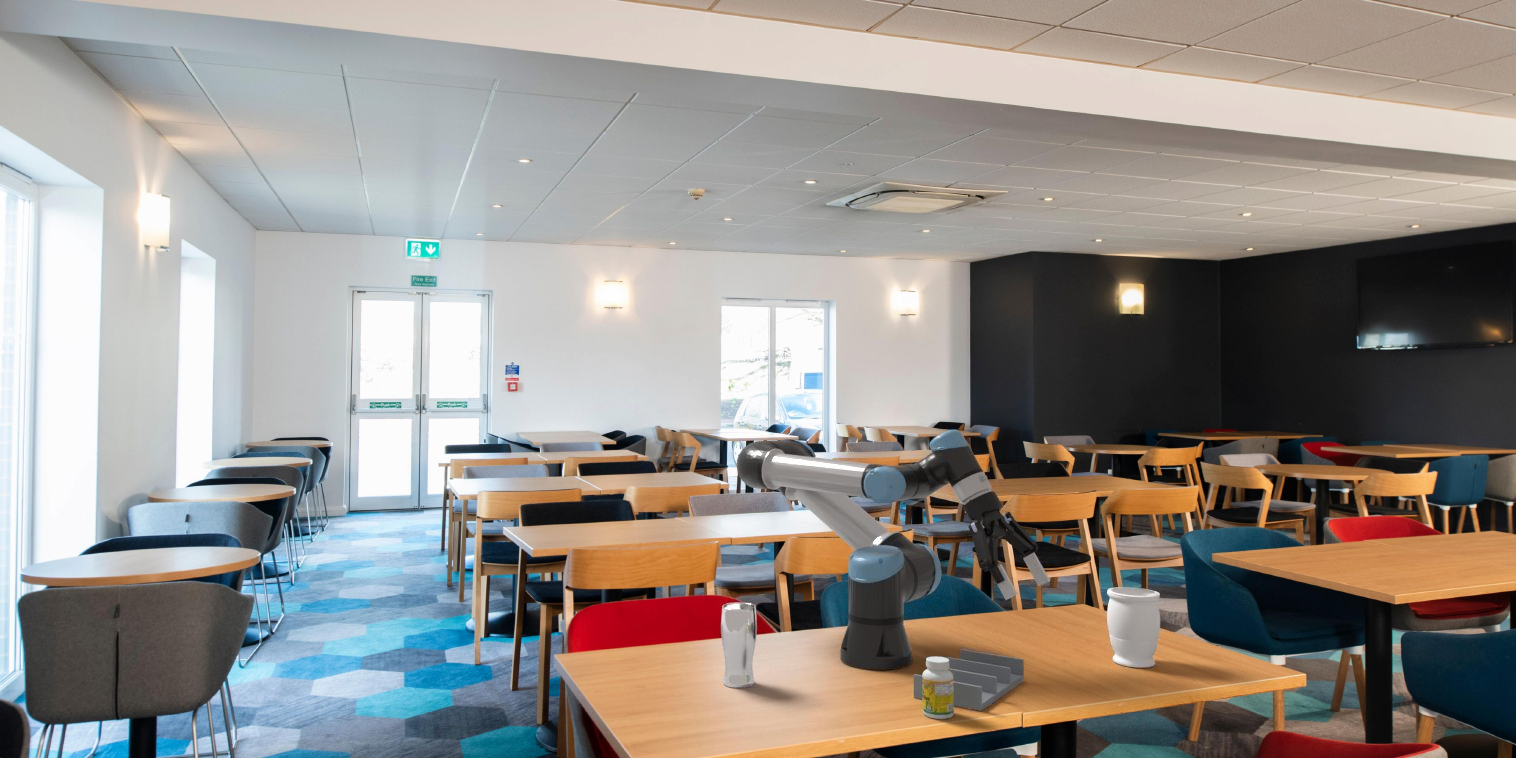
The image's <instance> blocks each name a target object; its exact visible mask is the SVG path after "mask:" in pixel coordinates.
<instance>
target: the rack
mask: <svg viewBox="0 0 1516 758" xmlns="http://www.w3.org/2000/svg"><path fill="white" fill-rule="evenodd" d="M959 655H960V658H955V657H950V656H946V657H945V658H947V659H949V666H950V667H949V669H948V670H949V671H950V672H951V673H952V674H953V681H954V682H953V683H954V707H957V708H962V707H963V709H967V708H970V709H969V710H971V709H975V710H974V711H976V710H980V711H979V712H982V711H984V710H985V709H987V708H988V707H989V706H991V705H992V704H994V703H995V702H996V701H997V700H999V699H1001V698H1002V697H1003V696H1005V695H1006V694H1007V693H1009V692H1010V691H1012V690H1013V689H1015V688H1017V686H1019V685H1020V684H1021V683H1023V682H1025V664H1024V663H1025V659H1024V658H1019V657H1011V656H1007V655H1000V654H994V653H987V652H982V651H977V650H969V649H963V648H960V650H959ZM922 675H923V674H916V673H914V674H913V698H914V699H918V700H922V701H923V691H922V690H923V688H922ZM1000 697H1001V698H1000ZM990 704H991V705H990ZM984 708H985V709H984ZM983 709H984V710H983ZM981 710H982V711H981Z"/></svg>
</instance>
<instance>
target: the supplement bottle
mask: <svg viewBox="0 0 1516 758" xmlns="http://www.w3.org/2000/svg"><path fill="white" fill-rule="evenodd" d="M925 666H926V668H927V669H925V670H924V671H923V672H922V674H921V675H922V688H923V690H922V691H923V700H922V713H923V715H924V716H925V717H927V718H929V719H934V720H946V719H947V718H948V719H950V718H952V717H953V716H954V713H955V706H954V683H953V682H954V681H953V674H952V673H951V672H950V671H949V670H948V669H949V667H950V666H949V659H947V658H946V657H944V656H928V657H926V660H925ZM948 719H947V720H948Z"/></svg>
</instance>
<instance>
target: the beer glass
mask: <svg viewBox="0 0 1516 758" xmlns="http://www.w3.org/2000/svg"><path fill="white" fill-rule="evenodd" d="M721 607H722V608H721V620H720V621H721V622H720V634H721V643H722V651H723V654H724V660H725V661H724V663H725V671H724V675H723V681H722V682H723V685H724V686H725V687H728V688H732V689H733V688H734V689H745V688H750V687H752V686H755V677H754V672H753V671H754V670H753V659H754V654H755V648H756V643H757V642H756V641H757V635H758V634H757V632H758V631H757V630H758V625H757V624H758V623H757V622H758V621H757V620H758V619H757V609H756V607H757V606H756V604H753V603H751V602H742V601H741V602H738V601H737V602H736V601H735V602H727V603H725V604H723V605H722V606H721Z"/></svg>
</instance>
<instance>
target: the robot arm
mask: <svg viewBox="0 0 1516 758" xmlns="http://www.w3.org/2000/svg"><path fill="white" fill-rule="evenodd" d="M929 447H930V451H931V452H930V453H929V454H928V455H926V456H925V457H924V458H922V459H920V460H919V461H917V462H915V463H911V464H900V465H886V464H877V463H868V462H867V463H866V462H858V461H849V460H842V459H831V458H823V457H817V455H816V454H815V451H814V450H813V449H812V447H811V446H810V445H808V443H806V442H804V441H801V440H797V439H791V438H784V439H780V440H758V441H754V442H751V443H749V444H747V445H746V446H744V447H743V448H742V449H741V451H740V453H739V454H738V456H737V460H736V470H737V474H738V476H739V479H740V480H741V481H742V482H743V483H744V484H745V485H746V486H748V487H750V488H753V489H755V490H756V489H757V490H766V489H767V490H772V491H773V490H776V491H779V492H780V494H781V495H783V496H784V497H785V498H786V499H787V500H789V501H799V502H800V503H801V504H802V505H803V506H804V507H805V508H807V510H809V511H810V512H811V513H812V514H813V515H814V516H815V517H817V519H819V520H820V521H821V522H822V523H824V524H825V525H826V526H827V528H829V529H830V530H831V531H832V532H833V533H835V534H836V535H837V536H838V537H839V538H840V539H841V540H842V541H844V542H845V543H846V544H847V545H848V546H849V547H850V548H851V549H852V550H853V552H851V554H850V555H849V558H848V567H847V574H848V576H847V577H848V580H847V582H848V584H847V585H848V586H847V587H848V593H847V594H848V624H847V627H846V630H845V633H844V636H843V639H842V642H841V646H840V652H839V653H840V657H839V658H840V661H841V662H842V663H844V664H845V665H847V666H851V667H855V668H859V669H866V670H882V671H883V670H896V669H901V668H906V667H908V666H910V665H911V664H912V662H913V650H912V646H911V643H910V639H909V637H908V634H907V632H906V628H905V624H904V619H905V618H904V611H905V610H904V607H905V605H904V604H906V603H909V602H912V601H915V600H921V599H923V598H926V597H928V596H929V595H930V594H932V593H933V592H935V590H936V589H937V588H938V586H939V584H940V583H941V578H942V568H941V567H942V565H941V561H940V558H939V557H938V555H937V553H936V552H935V551H934V550H933V549H932V548H931V547H930V546H928V545H925V544H922V543H914V542H912V541H911V540H910V539H908V538H907V536H905V535H904V534H903V533H902V532H900V531H891V532H890V530H888V529H887V528H886V527H885V526H883V524H882V523H880V522H878V521H877V520H876V519H875V518H874V517H873V516H872V515H870V514H869V513H868V512H867V511H866V510H864V508H863V507H861V506H860V505H859V504H858V503H857V502H856V501H854V500H853V499H852V498H851V497H858V498H865V499H870V500H871V501H873V502H875V503H876V504H877V503H879V504H893V503H895V502H900V501H901V502H902V503H903V504H905V505H908V506H913V505H915V504H917V503H919V502H923V501H924V500H926V498H928V497H930V496H931V495H932V494H934V493H935V492H937V491H938V490H940V489H942V488H943V487H944V486H947V485H948V484H950V486H951V488H952V490H953V492H954V494H955V496H956V498H957V500H958V502H959V504H961V505H963V507H962V508H963V509H962V510H963V511H964V513H965V514H966V516H967V518H968V520H969V521H970V522H972V523H970V524H969V525H968V529H969V531H970V533H971V536H972V540H973V545H974V549H975V553H976V558H977V563H978V566H979V568H980V569H981V570H982V571H983V572H988V571H989V572H990V574H991V577H992V578H993V580H994V582H995V584H996V585H997V586H998V589H999V591H1000V592H1001V594H1002V595H1003V597H1004V600H1005V601H1007V600H1009V599H1011V598H1013V597H1015V596H1017V595H1018V592H1017V589H1016V588H1015V586H1014V584H1013V582H1012V581H1011V579H1010V577H1009V576H1008V574H1007V572H1006V569H1005V568H1004V566H1003V563H999V557H998V554H999V553H998V539H1000V540H1005V542H1007V543H1008V544H1010V545H1011V546H1012V547H1013V548H1014V549H1016V551H1018V552H1019V553H1020V554H1021V555H1023V556H1024V557H1023V558H1022V559H1023V561H1024V563H1025V564H1026V565H1025V566H1027V568H1028V570H1029V572H1030V573H1031V575H1032V578H1033V579H1034V581H1035V582H1036V585H1037V586H1038V587H1041V586H1043V585H1045V584H1047V583H1049V582H1050V581H1051V579H1050V577H1049V576H1048V573H1047V572H1046V571H1045V568H1044V566H1043V565H1042V563H1041V561H1040V560H1039V558H1038V556H1037V555H1036V552H1037V551H1039V546H1038V543H1037V542H1035V540H1034V539H1033V538H1032V537H1031V536H1030V535H1029V533H1028V532H1027V531H1026V530H1024V528H1023V527H1022V526H1021V525H1020V524H1019V523H1018V522H1017V520H1015V518H1014V516H1013V515H1012V513H1011V512H1010V511H1006V512H1005V513H1003V514H1002V513H1001V511H1000V509H1001V508H1002V507H1003V506H1002V502H1001V500H1000V499H999V496H998V494H997V493H996V491H993V486H992V485H991V482H990V481H989V479H988V475H986V474H985V472H984V470H983V469H982V467H981V465H980V463H979V462H978V459H977V457H976V456H975V454H974V452H973V451H972V449H971V445H970V444H969V443H968V441H967V440H966V439H965V437H964V435H963V434H962V432H961V431H960V430H957V429H949V430H947V431H945V432H941V433H940V434H938V435H937V436H935V437H933V438H932V440H931V441H930V442H929Z"/></svg>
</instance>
